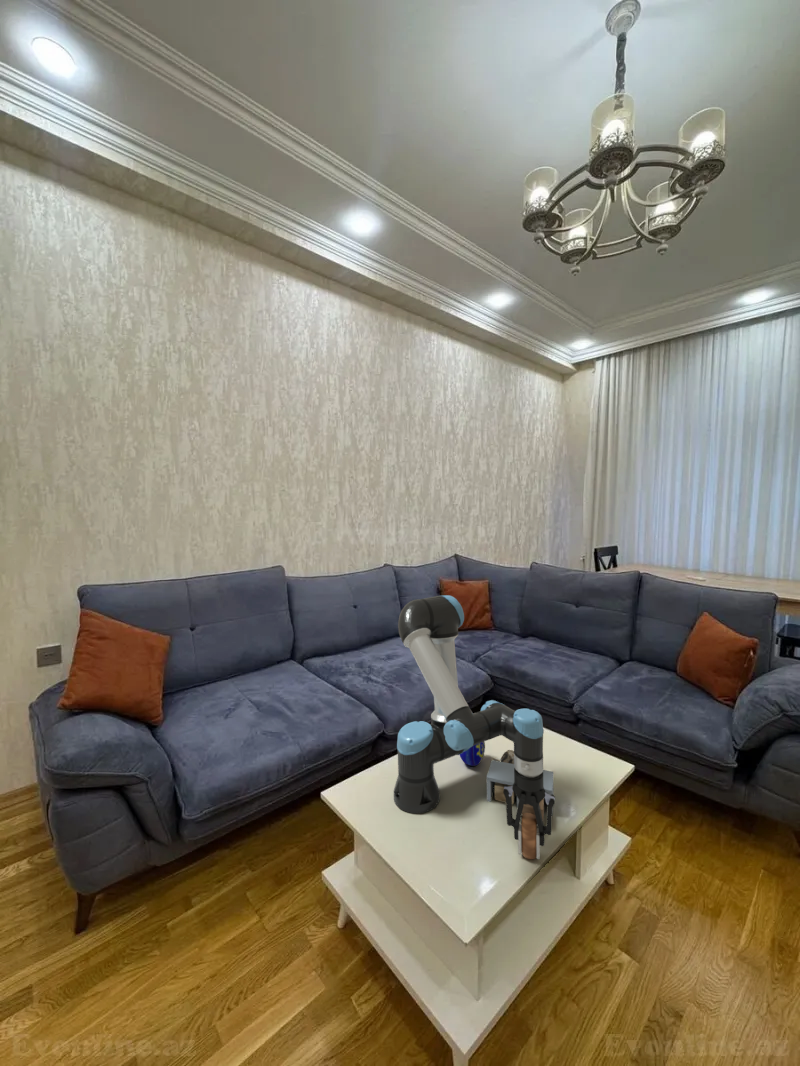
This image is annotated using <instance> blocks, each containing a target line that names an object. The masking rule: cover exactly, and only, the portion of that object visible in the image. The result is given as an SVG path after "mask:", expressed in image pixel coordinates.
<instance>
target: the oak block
mask: <svg viewBox="0 0 800 1066" xmlns="http://www.w3.org/2000/svg"><path fill="white" fill-rule="evenodd" d="M505 785H507V784H502V783H498V782H495V787H494V800H495V801H499V802H503V803H506V798H505V796H504V793H503V791H504V786H505ZM510 786H512V785H508V787H510ZM515 799H516V794H515V793H514V792H513V793H512V805H514V804H515V801H516V800H515Z"/></svg>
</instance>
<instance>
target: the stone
mask: <svg viewBox="0 0 800 1066" xmlns="http://www.w3.org/2000/svg"><path fill="white" fill-rule="evenodd" d="M500 762H505V763H510V764H514V749H513V750H512V749H507V750H506V751H504V753H503V754H502V756H501V758H500Z"/></svg>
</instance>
